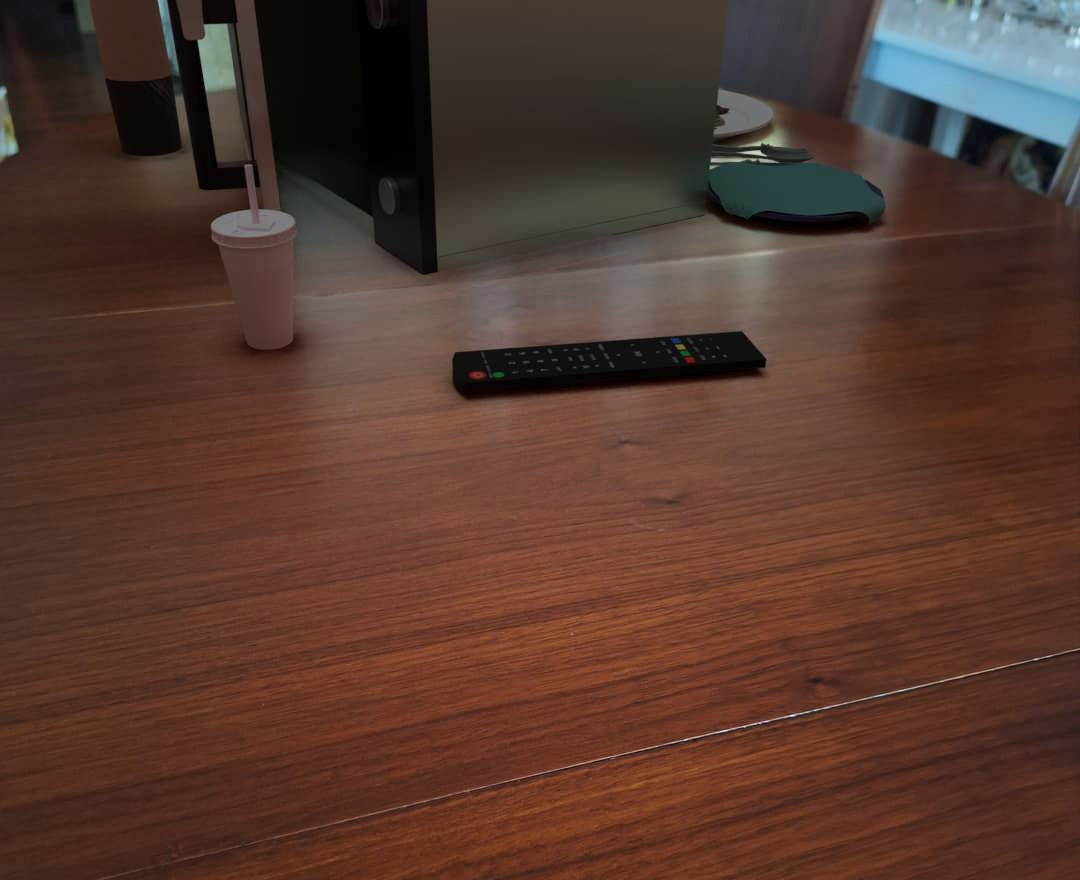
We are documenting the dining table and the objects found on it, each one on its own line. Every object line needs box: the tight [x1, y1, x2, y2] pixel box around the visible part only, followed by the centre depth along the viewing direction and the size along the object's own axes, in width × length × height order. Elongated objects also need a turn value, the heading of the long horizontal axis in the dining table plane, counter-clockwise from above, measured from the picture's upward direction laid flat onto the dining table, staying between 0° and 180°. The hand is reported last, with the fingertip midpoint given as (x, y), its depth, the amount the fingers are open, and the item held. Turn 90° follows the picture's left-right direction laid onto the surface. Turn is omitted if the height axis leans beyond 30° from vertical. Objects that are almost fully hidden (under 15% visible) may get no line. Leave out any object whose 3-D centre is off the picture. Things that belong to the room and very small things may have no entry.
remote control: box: [451, 330, 767, 393], centre depth 80 cm, size 5×24×1 cm, turn 102°
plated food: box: [713, 89, 775, 141], centre depth 144 cm, size 30×30×3 cm
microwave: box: [254, 0, 729, 274], centre depth 111 cm, size 35×44×28 cm
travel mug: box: [88, 0, 183, 157], centre depth 124 cm, size 8×8×20 cm
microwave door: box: [166, 0, 282, 212], centre depth 104 cm, size 7×34×28 cm, turn 17°
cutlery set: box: [707, 142, 887, 226], centre depth 119 cm, size 20×30×2 cm, turn 1°
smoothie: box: [210, 164, 298, 351], centre depth 80 cm, size 6×6×14 cm
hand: (193, 35), depth 90 cm, fingers closed on microwave door, 2 cm apart
